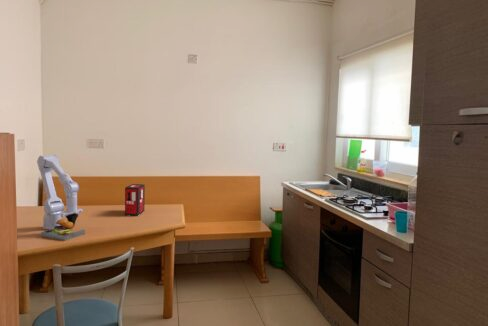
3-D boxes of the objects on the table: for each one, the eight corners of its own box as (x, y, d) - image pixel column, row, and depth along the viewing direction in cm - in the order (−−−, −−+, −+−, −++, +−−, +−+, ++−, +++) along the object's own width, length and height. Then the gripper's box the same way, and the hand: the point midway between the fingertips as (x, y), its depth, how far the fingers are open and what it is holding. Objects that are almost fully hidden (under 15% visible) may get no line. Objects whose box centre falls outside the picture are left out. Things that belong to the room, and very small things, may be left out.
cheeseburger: (46, 235, 210) (50, 217, 211) (65, 236, 218) (68, 219, 219) (56, 238, 204) (60, 220, 205) (74, 239, 212) (78, 221, 214)
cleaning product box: (132, 210, 278) (132, 184, 276) (144, 211, 278) (144, 184, 276) (124, 215, 261) (125, 187, 260) (137, 216, 261) (137, 188, 259)
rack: (41, 236, 208) (41, 231, 208) (62, 230, 222) (62, 225, 222) (64, 240, 202) (64, 235, 202) (84, 233, 216) (84, 228, 216)
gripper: (67, 206, 208) (67, 230, 210) (86, 202, 222) (86, 224, 223) (57, 205, 211) (57, 229, 212) (77, 200, 224) (77, 223, 226)
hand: (72, 226), depth 218 cm, fingers closed
